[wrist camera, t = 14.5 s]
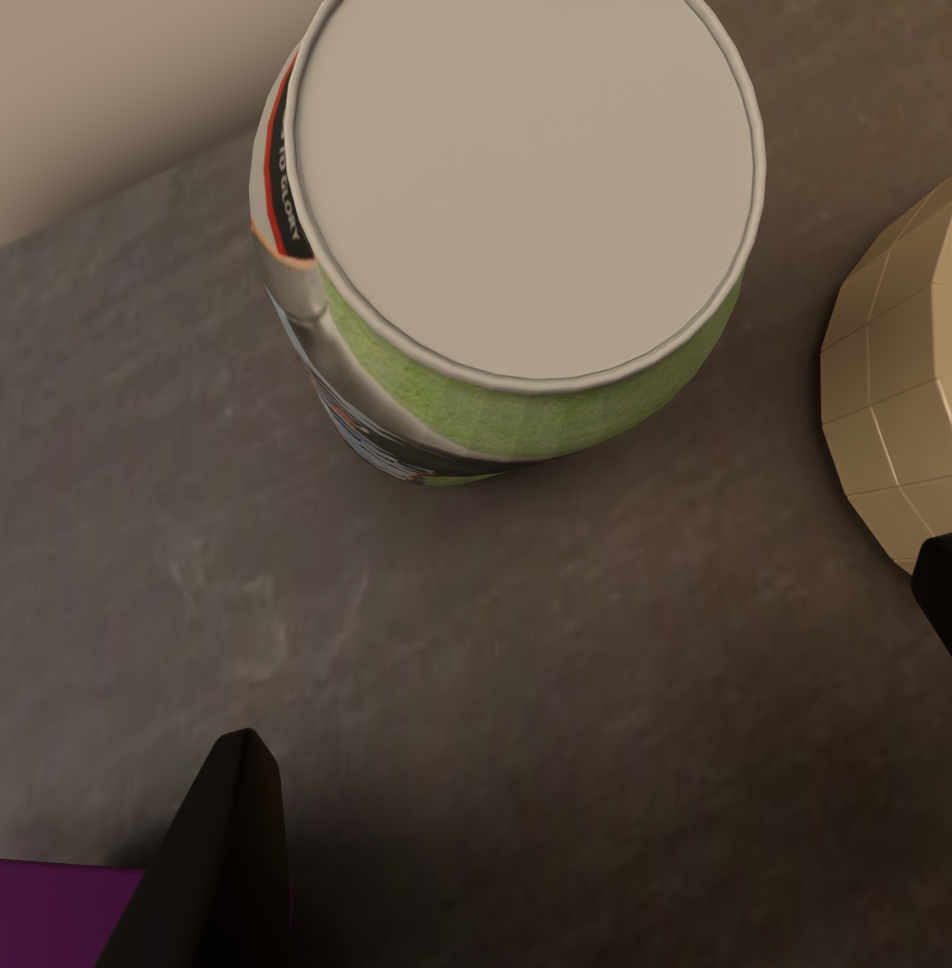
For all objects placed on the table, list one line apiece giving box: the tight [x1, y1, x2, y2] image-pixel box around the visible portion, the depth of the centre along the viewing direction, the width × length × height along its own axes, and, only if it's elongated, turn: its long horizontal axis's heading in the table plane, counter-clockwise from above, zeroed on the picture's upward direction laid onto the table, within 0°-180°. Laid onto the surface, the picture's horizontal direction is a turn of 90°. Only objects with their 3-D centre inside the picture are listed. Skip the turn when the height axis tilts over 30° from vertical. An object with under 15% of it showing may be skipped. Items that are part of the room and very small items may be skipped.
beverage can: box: [249, 0, 767, 487], centre depth 13 cm, size 6×7×12 cm
